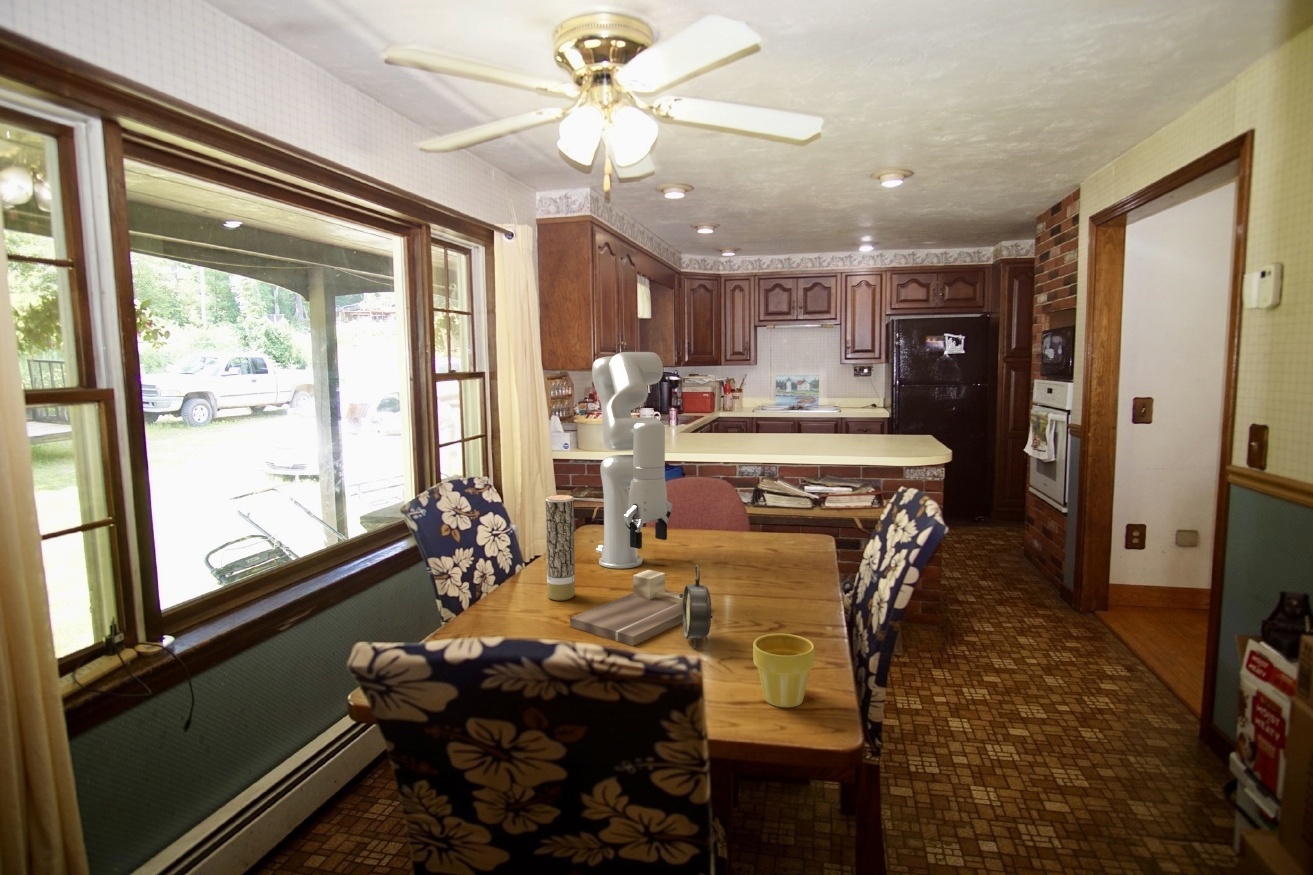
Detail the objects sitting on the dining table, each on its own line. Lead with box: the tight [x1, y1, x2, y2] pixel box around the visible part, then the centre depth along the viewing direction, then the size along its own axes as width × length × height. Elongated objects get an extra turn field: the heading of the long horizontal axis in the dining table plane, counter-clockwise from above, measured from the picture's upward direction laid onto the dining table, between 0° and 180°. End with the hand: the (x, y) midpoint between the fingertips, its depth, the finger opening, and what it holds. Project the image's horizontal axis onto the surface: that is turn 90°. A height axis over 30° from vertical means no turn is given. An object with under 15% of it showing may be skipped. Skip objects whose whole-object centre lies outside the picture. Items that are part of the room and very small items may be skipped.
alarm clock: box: [682, 564, 713, 651], centre depth 145 cm, size 11×5×16 cm, turn 5°
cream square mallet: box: [632, 569, 684, 604], centre depth 168 cm, size 13×6×5 cm, turn 52°
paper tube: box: [545, 494, 576, 601], centre depth 174 cm, size 7×7×25 cm
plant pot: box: [752, 633, 816, 709], centre depth 120 cm, size 10×10×10 cm
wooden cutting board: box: [569, 589, 684, 647], centre depth 160 cm, size 18×28×2 cm, turn 142°
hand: (648, 543), depth 170 cm, fingers open, 9 cm apart
